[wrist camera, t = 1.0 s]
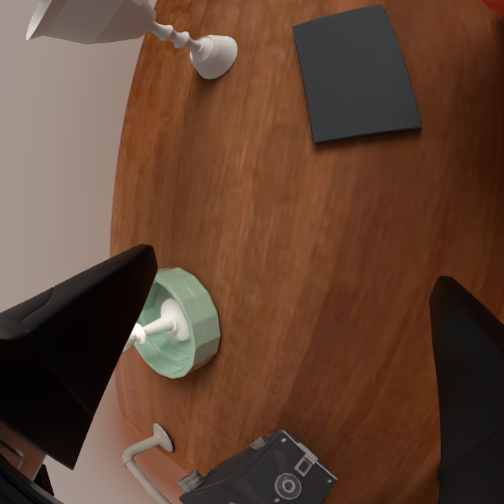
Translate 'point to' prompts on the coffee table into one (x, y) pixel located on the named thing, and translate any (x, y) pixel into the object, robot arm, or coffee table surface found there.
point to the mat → (355, 76)
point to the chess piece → (162, 325)
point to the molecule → (495, 6)
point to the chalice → (126, 29)
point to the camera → (263, 476)
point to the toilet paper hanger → (130, 452)
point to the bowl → (196, 315)
